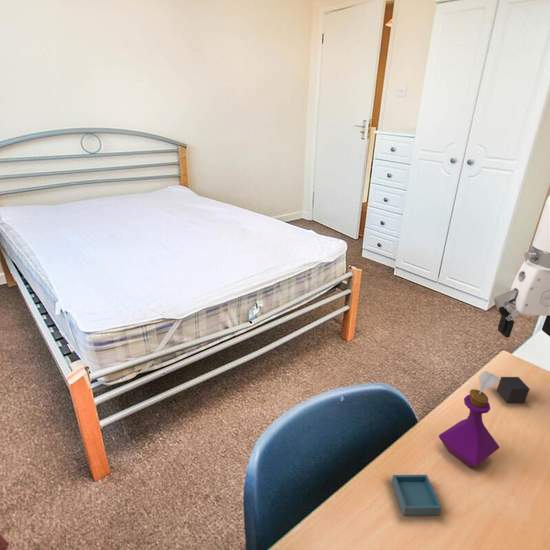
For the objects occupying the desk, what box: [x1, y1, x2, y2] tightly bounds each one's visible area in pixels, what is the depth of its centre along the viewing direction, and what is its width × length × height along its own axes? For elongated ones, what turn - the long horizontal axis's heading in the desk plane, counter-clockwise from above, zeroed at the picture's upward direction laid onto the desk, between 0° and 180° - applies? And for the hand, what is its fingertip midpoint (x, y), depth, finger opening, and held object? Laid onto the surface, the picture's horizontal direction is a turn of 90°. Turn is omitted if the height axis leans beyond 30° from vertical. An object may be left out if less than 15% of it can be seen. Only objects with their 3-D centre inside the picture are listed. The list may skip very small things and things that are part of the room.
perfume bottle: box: [438, 370, 501, 468], centre depth 67 cm, size 8×8×18 cm
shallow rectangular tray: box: [391, 474, 442, 517], centre depth 62 cm, size 6×6×2 cm
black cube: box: [496, 376, 531, 404], centre depth 85 cm, size 4×4×4 cm
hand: (525, 334), depth 80 cm, fingers open, 9 cm apart
